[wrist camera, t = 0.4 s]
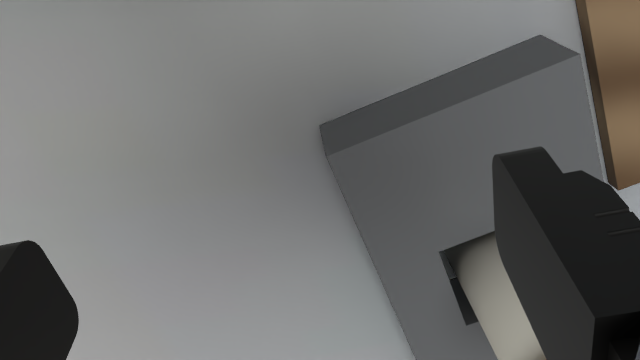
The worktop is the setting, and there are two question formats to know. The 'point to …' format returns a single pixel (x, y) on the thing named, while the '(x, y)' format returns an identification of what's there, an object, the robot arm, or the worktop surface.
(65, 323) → the robot arm
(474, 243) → the plug
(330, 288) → the worktop surface
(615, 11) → the pad
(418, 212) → the grey base plate
